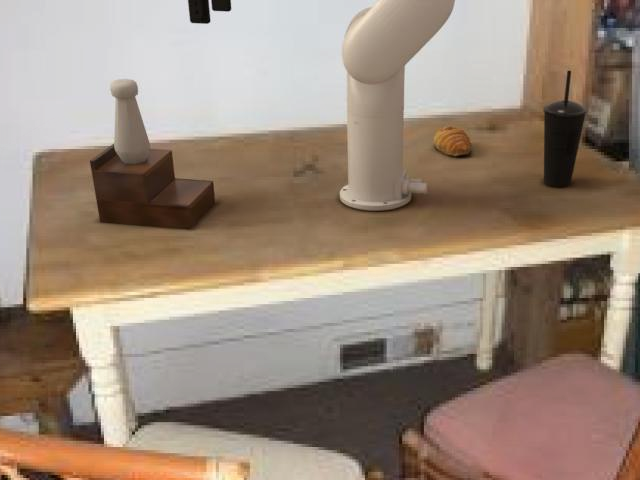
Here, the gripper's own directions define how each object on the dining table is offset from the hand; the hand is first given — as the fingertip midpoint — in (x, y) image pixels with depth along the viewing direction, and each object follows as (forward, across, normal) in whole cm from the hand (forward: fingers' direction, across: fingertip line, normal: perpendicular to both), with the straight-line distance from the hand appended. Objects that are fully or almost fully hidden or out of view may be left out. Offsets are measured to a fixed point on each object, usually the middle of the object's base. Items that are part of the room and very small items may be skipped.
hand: (211, 16), depth 149 cm
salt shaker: (+22, -10, +12) cm, 27 cm away
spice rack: (+30, -10, +9) cm, 33 cm away
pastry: (+31, +33, -36) cm, 58 cm away
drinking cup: (+31, +18, -57) cm, 67 cm away
